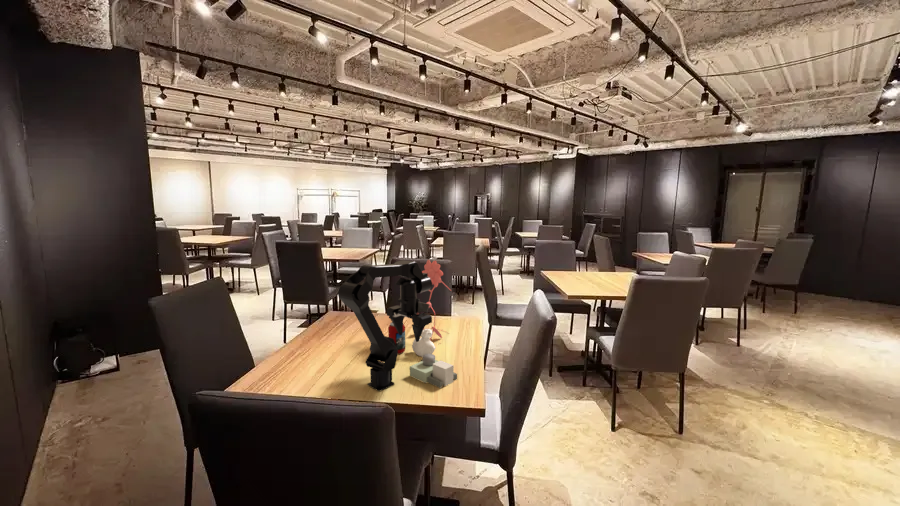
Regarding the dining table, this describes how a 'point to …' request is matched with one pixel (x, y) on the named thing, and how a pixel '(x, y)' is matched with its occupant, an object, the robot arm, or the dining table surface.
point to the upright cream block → (443, 372)
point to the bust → (424, 344)
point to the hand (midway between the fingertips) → (408, 338)
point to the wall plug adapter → (426, 371)
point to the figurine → (435, 277)
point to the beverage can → (397, 337)
